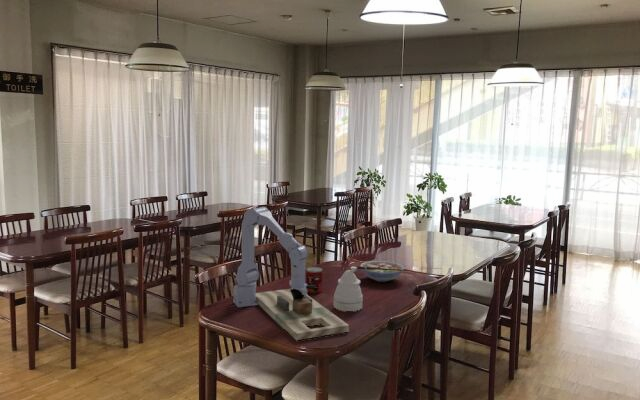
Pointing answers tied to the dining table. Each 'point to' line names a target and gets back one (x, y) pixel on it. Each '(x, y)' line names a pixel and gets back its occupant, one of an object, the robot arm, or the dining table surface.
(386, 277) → the ramen bowl
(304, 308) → the walnut block
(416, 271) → the dining table surface
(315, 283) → the canned food
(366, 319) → the dining table surface
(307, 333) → the board
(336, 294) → the white santa figurine
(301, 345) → the dining table surface
